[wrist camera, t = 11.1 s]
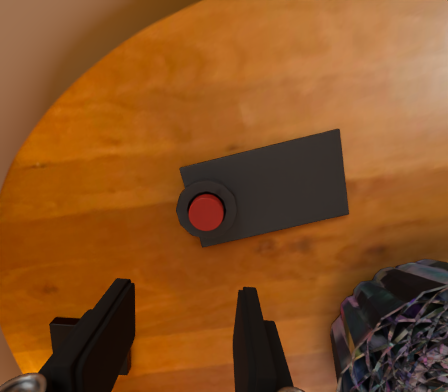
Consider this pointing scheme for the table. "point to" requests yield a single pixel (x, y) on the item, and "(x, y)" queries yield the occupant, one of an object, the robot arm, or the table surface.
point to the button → (206, 212)
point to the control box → (269, 187)
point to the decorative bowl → (395, 331)
